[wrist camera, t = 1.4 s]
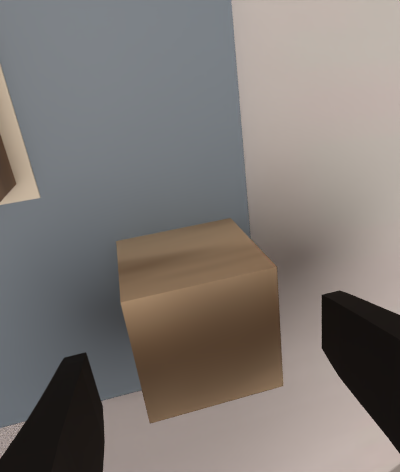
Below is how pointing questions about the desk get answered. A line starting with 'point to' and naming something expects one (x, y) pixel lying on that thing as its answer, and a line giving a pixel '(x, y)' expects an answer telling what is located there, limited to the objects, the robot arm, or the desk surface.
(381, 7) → the desk surface
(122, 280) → the oak cube
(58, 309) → the board
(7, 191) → the walnut slab
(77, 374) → the robot arm
